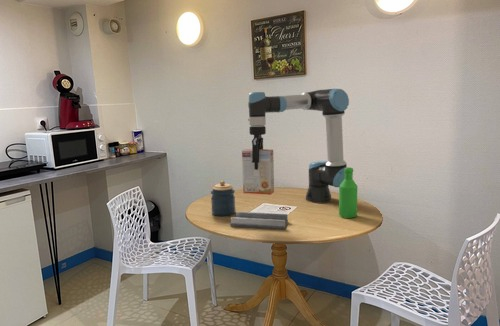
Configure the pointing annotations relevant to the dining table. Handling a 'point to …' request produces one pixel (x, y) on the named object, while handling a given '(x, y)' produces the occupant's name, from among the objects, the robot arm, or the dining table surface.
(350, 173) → the bottle
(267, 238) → the dining table surface
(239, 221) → the grey long shallow tray
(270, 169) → the cracker box
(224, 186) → the canister
